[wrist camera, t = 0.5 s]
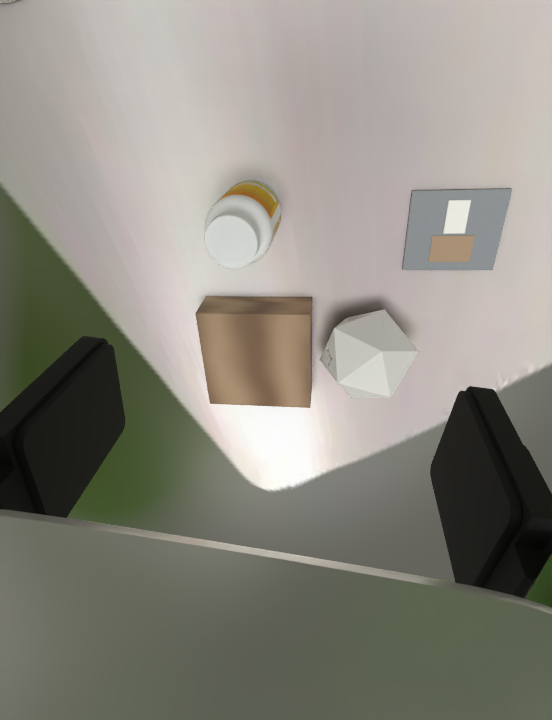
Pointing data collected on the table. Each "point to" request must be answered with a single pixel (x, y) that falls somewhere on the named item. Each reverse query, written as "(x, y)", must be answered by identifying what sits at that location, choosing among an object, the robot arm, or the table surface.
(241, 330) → the base block
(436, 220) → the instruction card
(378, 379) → the die
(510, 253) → the table surface
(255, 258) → the supplement bottle
